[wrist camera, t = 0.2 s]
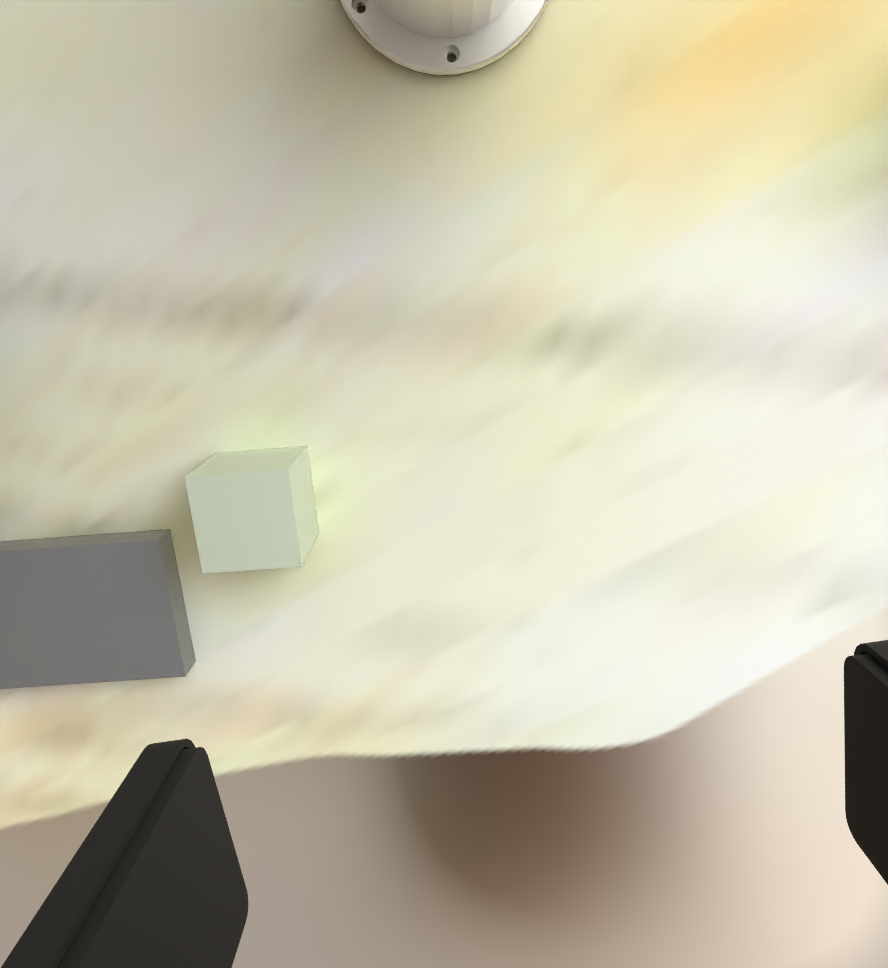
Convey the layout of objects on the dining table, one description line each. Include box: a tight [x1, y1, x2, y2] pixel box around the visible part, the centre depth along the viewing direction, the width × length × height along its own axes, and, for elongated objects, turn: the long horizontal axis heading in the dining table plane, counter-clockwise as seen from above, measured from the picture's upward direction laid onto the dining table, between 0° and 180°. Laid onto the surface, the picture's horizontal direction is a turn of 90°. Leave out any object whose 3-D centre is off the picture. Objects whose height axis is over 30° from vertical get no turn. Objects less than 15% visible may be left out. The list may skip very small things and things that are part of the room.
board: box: [0, 529, 195, 689], centre depth 48 cm, size 10×24×2 cm, turn 94°
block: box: [184, 446, 319, 574], centre depth 44 cm, size 6×6×6 cm
